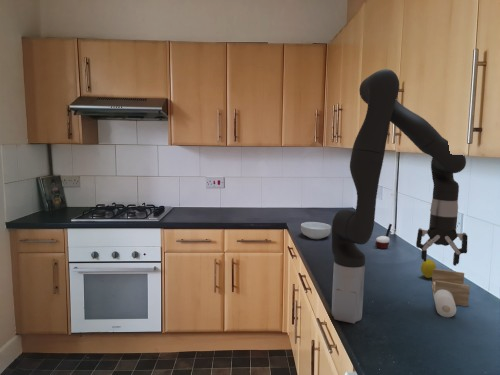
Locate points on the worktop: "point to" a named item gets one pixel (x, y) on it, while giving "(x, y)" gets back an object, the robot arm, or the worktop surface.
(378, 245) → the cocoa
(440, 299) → the paper roll
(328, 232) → the cereal bowl
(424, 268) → the lemon
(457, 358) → the worktop surface
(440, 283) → the roll holder
